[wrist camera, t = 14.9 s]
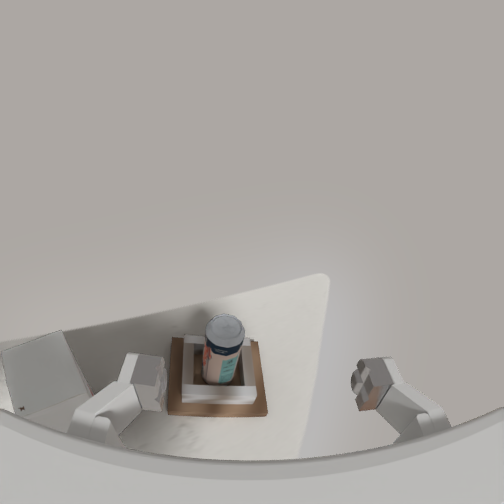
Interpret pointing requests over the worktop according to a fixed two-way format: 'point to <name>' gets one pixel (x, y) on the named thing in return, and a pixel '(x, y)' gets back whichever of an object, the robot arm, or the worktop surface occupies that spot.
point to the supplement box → (45, 381)
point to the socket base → (214, 397)
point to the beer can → (221, 349)
